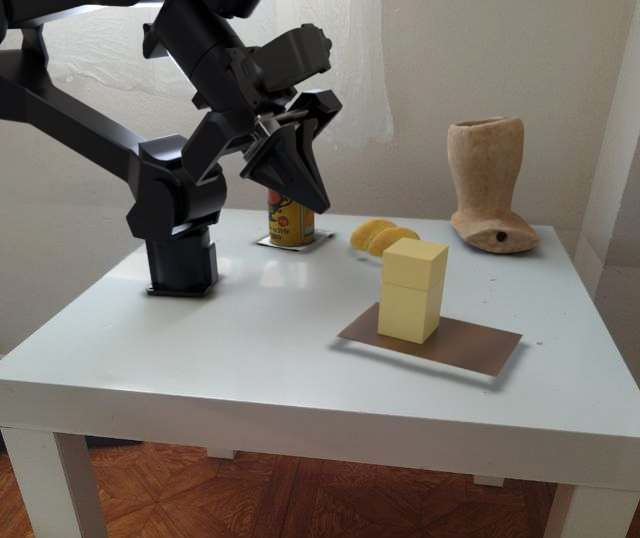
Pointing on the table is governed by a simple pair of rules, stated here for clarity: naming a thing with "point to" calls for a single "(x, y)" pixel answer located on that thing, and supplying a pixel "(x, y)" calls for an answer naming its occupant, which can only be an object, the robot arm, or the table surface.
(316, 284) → the table surface
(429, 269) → the butter pat
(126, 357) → the table surface
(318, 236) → the condiment
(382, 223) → the bread roll
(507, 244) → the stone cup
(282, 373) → the table surface
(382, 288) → the butter block
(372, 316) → the board
